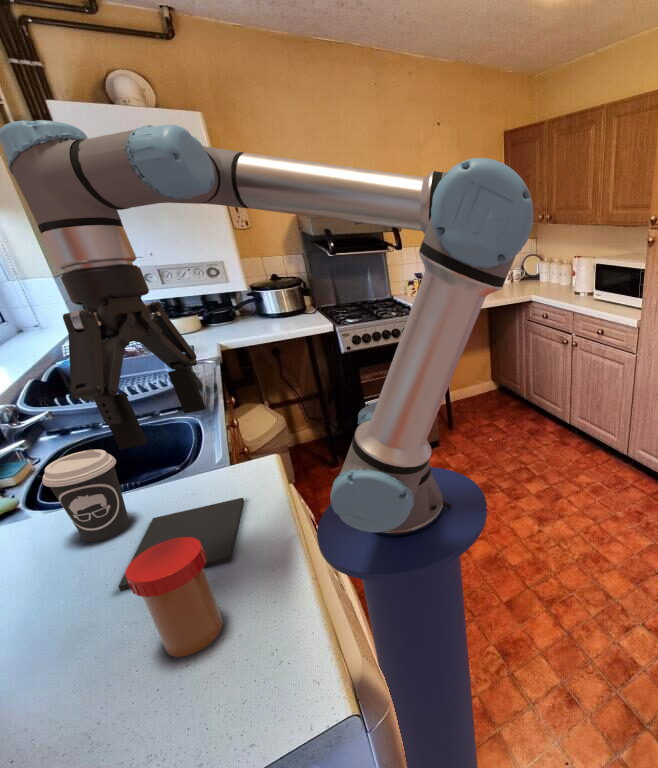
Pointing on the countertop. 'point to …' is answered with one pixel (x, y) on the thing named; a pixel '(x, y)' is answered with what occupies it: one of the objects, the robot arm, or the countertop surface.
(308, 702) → the countertop surface
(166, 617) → the jar
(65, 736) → the countertop surface
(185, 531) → the mat
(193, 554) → the lid
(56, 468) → the coffee cup
